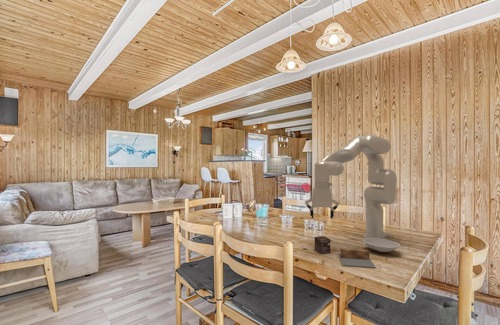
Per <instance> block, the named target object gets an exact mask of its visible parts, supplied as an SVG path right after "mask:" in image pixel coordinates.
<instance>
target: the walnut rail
mask: <svg viewBox="0 0 500 325" xmlns="http://www.w3.org/2000/svg"><path fill="white" fill-rule="evenodd" d="M339 254H340V257H341V258H351V259H366V260H369V258H370V250H368V249H356V248H355V249H354V248H351V249H349V248H340V253H339Z"/></svg>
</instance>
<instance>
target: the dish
mask: <svg viewBox="0 0 500 325" xmlns="http://www.w3.org/2000/svg"><path fill="white" fill-rule="evenodd" d="M362 242H363V243H364V244H365V245H366V247H369V248H370V249H371V250H374V251H377V252H379V253H389V252H390V253H391V252H393V251H396V250H397V249H398V248H400V247H401V244H400V243H399V242H397V241H394V240H391V239H387V238H386V239H380V238H363V239H362Z"/></svg>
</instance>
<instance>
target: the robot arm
mask: <svg viewBox="0 0 500 325" xmlns="http://www.w3.org/2000/svg"><path fill="white" fill-rule="evenodd" d="M391 145H392V144H391V143H390V141H389V140H388V139H386V138H384V137H380V136H377V135H374V134H367V135H366V134H365V135H358V136H355V137H353V138H352V139H351V140H350V141H349V142H348V143H347V144H346V145H345V146H343V147H342V148H340V149H339V150H337V151H334V152H332V153H330V154H329V155H326V156H325V157H324V158H323V159H322V160H321V161H316V162H315V163H314V166H313V167H314V187H312V192H311V198H310V199H307V200H305V202H304V204H305V205H306V207H307V209H309V210H310V214H309V215H310V217H311V218H312V219H313V218H314V208H329V209H330V210H329V213H330V214H329V216H330V219H331V220H333V218H334V217H335V215H334V212H335V210H336V209H338V207H339V205H340V202H339V201H337V200H336V199H333V196H332V188H331V187H333V183H332V182H330V176H340V175H342V174H343V173H344V170H345V167H344V165H343V164H344V163H348V162H351V161H353V160H354V159H356V158H357V156H358V155H360V154H361V152H362V153H363V154H364V155H365V157H366V158H367V161H368V162H367V163H368V164H367V166H368V167H367V182H368V183H369V184H371V185H375V186H368V187H366V188H365V190H364V191H363V198H364V202H365V233H364V234H363V235H362V237H363V239H365V238H380V239H387V237H391V238H392V237H393V234H392V233H389V232H386V231H384V209H383V206H382V204H383V205H389V206H391V205H393V204H394V203H395V201H396V199H397V187H398V186H397V184H398V183H397V181H398V180H397V179H398V177H397V173H396V172H395V171H394V170H393V169H388V168H387V169H386V168H385V163H384V162H385V160H384V158H383V157H382V155H384V154H387V153H389V152H390V150H391V148H392V147H391ZM376 185H377V186H376ZM382 186H383V187H382ZM309 203H311V205H310V204H309ZM333 203H334V204H335V205H334V206H333Z"/></svg>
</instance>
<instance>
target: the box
mask: <svg viewBox="0 0 500 325" xmlns="http://www.w3.org/2000/svg"><path fill="white" fill-rule="evenodd" d="M314 251H315V252H316V253H318V254H320V255H324V254H325V255H326V254H330V253H331V238H329V237H327V236H326V235H322V236H321V235H318V236H314Z"/></svg>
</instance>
